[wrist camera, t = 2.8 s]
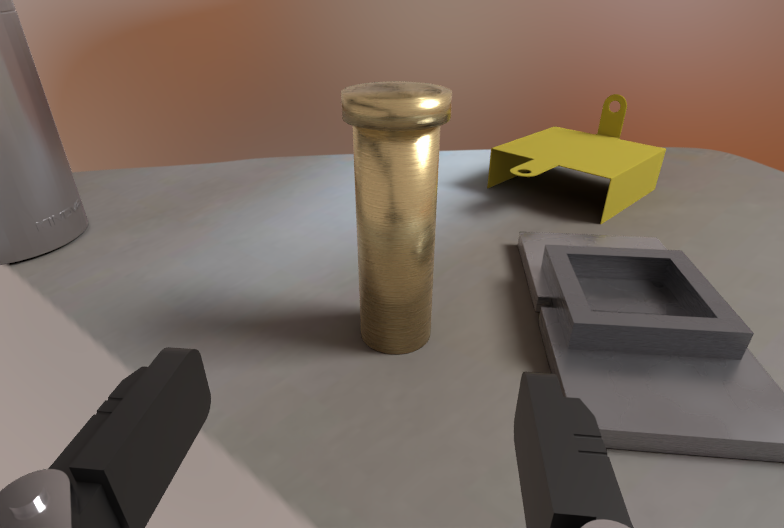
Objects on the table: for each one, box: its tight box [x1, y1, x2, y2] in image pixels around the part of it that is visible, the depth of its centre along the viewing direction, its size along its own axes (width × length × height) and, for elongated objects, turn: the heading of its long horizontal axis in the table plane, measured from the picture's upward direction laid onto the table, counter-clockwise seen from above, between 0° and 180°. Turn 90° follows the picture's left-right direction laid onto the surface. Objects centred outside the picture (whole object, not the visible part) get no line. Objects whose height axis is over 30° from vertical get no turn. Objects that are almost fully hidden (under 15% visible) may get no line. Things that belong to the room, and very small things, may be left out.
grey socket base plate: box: [518, 232, 784, 462], centre depth 25 cm, size 9×17×2 cm, turn 174°
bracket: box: [487, 94, 666, 224], centre depth 40 cm, size 16×8×15 cm
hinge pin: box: [341, 82, 452, 354], centre depth 22 cm, size 4×4×12 cm
